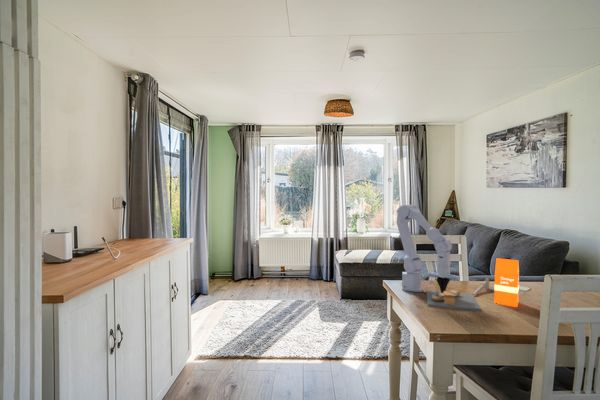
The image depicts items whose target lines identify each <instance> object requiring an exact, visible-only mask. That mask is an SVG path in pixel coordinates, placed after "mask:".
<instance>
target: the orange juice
mask: <svg viewBox="0 0 600 400" xmlns="http://www.w3.org/2000/svg"><path fill="white" fill-rule="evenodd" d="M494 269H495V270H494V287H493V288H494V299H493V300H494V301H493V302H494V304H496V303H497V305H503V306H509V307H513V308H518V305H519V301H520V300H519V296H520V295H519V292H520V290H519V286H520V264H519V259H507V258H499V257H498V258H497V257H496V260H495V267H494Z"/></svg>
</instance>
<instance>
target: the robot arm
mask: <svg viewBox="0 0 600 400" xmlns="http://www.w3.org/2000/svg"><path fill="white" fill-rule="evenodd" d="M396 215H397V216H396V226H397V229H398V232H399V237H400V240H401V244H402V248H403V251H404V254H405V255H404V257H403V269H404V270H405V271H402V274H401V278H402V280H401V281H402V282H401V286H402V287H401V288H402V289H401V291H406V292H417V293H422V292H423V288H422V270H423V268H424V265H425V264H424V262H423V260H422V259H421V257H420V255H419V254H418V253H417V252H416V248H415V243H414V240H413V237H412V234H411V231H410V230H411V229H410V227H409V222H410V221H411V220H414V221H416V222H417V223H418V224H419V225H420V227H422V229H424V231H425V235H426V237H427V238H428V239H429V240H430V242H431V243H432V244H433V245H434V249H435V251H436V272H435V271H427V272H426V276H427V277H428V278H429V277H431V278H432V277H433V278H436V282H437V284H438V286H439V289H440V292H441V293H443V292H444V291H447V287H448V284H449V282H450V281H451V280H452V281H457V282H460V281H461V275H455V274H451V250H452V249H453V244H452V242H451V240H449V239H447V238H446V237H445V236H443V234H442V233H440V229H439V228H437V227H432V226H431V224H430V223H429V222H428V221H427V219H426V217H425V216H424V215H423V214H422V213H421V210H420V209H419V208H418V207H417V205H415V204H413V203H411V204H401V205H399V207H398V208H397V210H396Z"/></svg>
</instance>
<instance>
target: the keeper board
mask: <svg viewBox="0 0 600 400" xmlns="http://www.w3.org/2000/svg"><path fill="white" fill-rule="evenodd" d="M435 291H436V290H426V291H425V294H426V301H427V306H428V307H435V308H445V309H454V310H464V311H473V312H482V308H481V306H480V304H479V303H478V301H477V299H476V297H475V296H473V293H472V294H469V293H461V292H460V295H459V296H455V295H454V293H453V292H449V291H450V290H446V291H444V296H445V299H444V300H442V301H435V300H432V295H433V294H435ZM438 292H439V293H441V291H438Z"/></svg>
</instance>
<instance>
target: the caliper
mask: <svg viewBox="0 0 600 400" xmlns="http://www.w3.org/2000/svg"><path fill="white" fill-rule="evenodd" d="M484 279H485V280H484V281H483V282H482V283H481V285H480V286H478V288H476V290H475V291H474V292H472V295H473V296H474V297H476V296H478V295H479V293H481V291H483V290H484V289H485V290H487V289H488V290H489V289H490V279H489V277H487V276H486V277H485V278H484Z"/></svg>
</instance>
